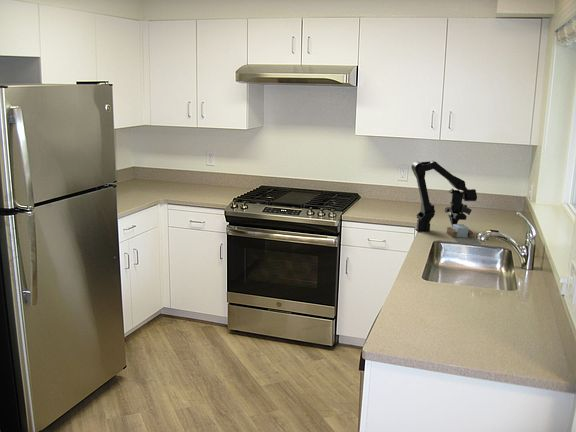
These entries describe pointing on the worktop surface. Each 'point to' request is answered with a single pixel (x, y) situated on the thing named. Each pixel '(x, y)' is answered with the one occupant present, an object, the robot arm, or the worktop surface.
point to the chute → (454, 234)
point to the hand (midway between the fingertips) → (453, 228)
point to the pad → (466, 240)
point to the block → (461, 230)
